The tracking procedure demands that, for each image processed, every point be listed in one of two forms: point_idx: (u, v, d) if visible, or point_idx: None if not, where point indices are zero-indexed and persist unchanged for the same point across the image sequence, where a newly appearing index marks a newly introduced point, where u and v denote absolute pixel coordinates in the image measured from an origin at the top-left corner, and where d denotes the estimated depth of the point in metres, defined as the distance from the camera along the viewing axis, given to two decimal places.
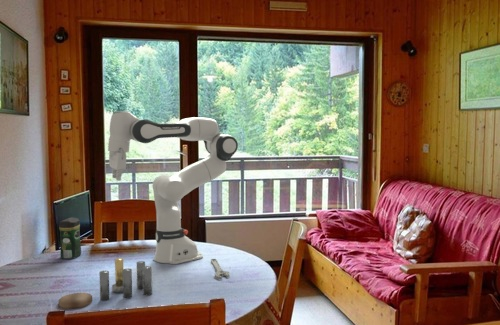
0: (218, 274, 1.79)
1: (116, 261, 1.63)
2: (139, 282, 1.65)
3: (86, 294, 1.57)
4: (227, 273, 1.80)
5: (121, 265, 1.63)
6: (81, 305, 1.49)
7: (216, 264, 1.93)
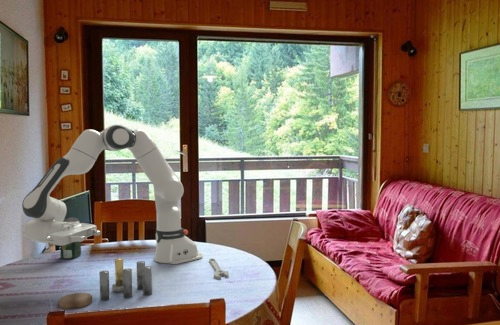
0: (217, 273, 1.80)
1: (116, 261, 1.63)
2: (139, 282, 1.65)
3: (86, 294, 1.57)
4: (226, 273, 1.81)
5: (121, 265, 1.63)
6: (81, 305, 1.49)
7: (215, 264, 1.93)
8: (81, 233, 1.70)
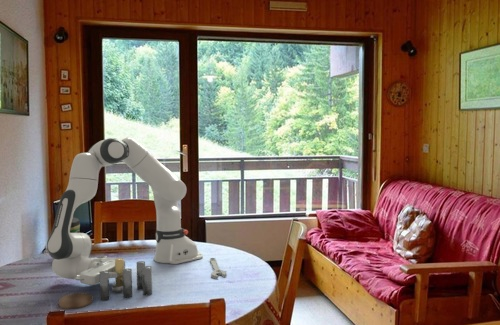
0: (215, 273, 1.80)
1: (116, 261, 1.63)
2: (139, 282, 1.65)
3: (86, 294, 1.57)
4: (224, 272, 1.81)
5: (121, 265, 1.63)
6: (81, 305, 1.49)
7: (214, 263, 1.94)
8: (111, 270, 1.67)
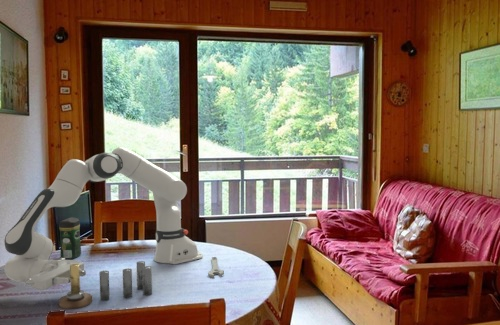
0: (212, 272, 1.82)
1: (71, 267, 1.51)
2: (139, 282, 1.65)
3: (86, 294, 1.57)
4: (221, 272, 1.82)
5: (76, 271, 1.52)
6: (81, 305, 1.49)
7: (215, 262, 1.96)
8: (66, 273, 1.55)
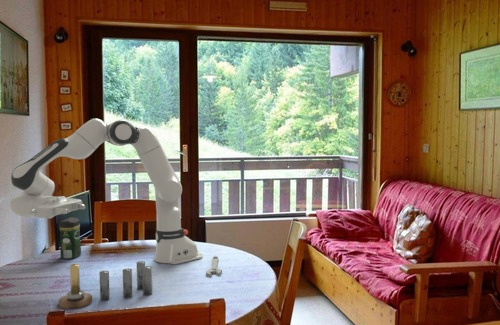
0: (210, 271, 1.83)
1: (71, 267, 1.51)
2: (139, 282, 1.65)
3: (86, 294, 1.57)
4: (219, 271, 1.83)
5: (76, 271, 1.52)
6: (81, 305, 1.49)
7: (215, 262, 1.97)
8: (66, 207, 1.71)
